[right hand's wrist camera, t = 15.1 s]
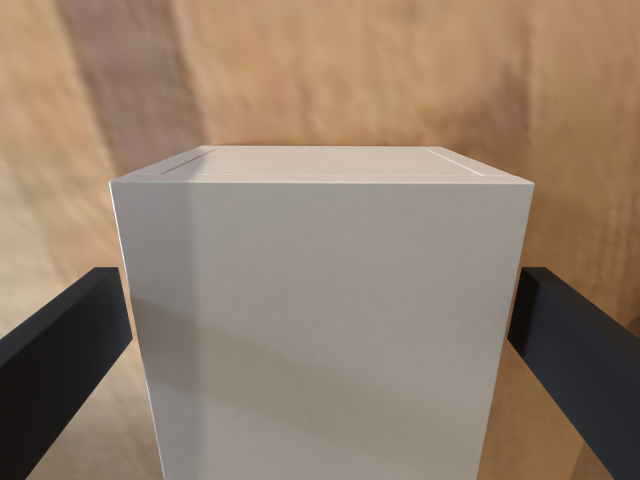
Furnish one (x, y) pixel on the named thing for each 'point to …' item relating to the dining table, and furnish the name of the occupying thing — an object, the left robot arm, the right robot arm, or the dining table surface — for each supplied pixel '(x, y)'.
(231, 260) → the cabinet
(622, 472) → the right robot arm
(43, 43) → the dining table surface
